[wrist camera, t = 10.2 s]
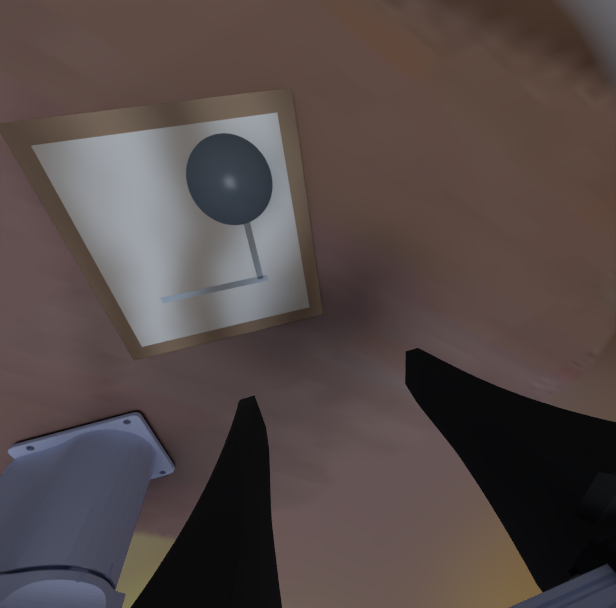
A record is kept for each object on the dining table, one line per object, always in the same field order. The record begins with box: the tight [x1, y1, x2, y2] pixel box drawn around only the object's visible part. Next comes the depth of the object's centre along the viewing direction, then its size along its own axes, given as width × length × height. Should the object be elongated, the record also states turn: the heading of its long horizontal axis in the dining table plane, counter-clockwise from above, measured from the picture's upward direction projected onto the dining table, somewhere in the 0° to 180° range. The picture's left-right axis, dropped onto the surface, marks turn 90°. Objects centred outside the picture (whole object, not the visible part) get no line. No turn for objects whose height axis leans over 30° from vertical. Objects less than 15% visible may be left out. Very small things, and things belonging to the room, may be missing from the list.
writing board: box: [0, 88, 323, 360], centre depth 16 cm, size 14×14×1 cm
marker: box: [186, 133, 273, 225], centre depth 12 cm, size 3×3×6 cm
